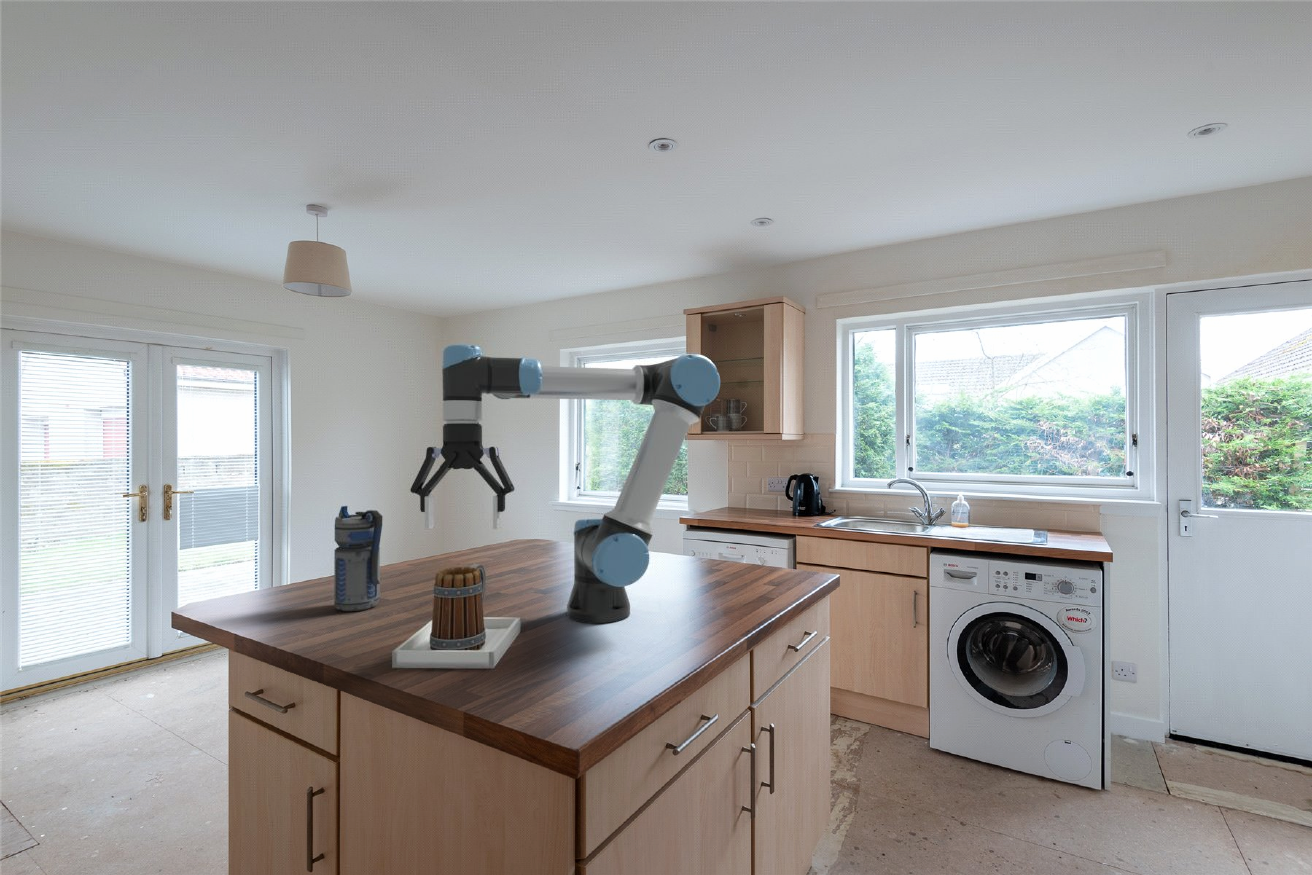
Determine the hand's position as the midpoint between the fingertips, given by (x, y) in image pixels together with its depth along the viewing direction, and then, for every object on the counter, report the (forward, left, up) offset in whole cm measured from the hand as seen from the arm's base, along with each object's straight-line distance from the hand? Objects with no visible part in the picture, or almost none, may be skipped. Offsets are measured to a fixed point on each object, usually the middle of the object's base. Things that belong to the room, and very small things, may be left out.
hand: (463, 528), depth 123 cm
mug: (0, 0, -23) cm, 23 cm away
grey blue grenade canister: (+35, -29, -24) cm, 52 cm away
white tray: (0, 0, -24) cm, 24 cm away
